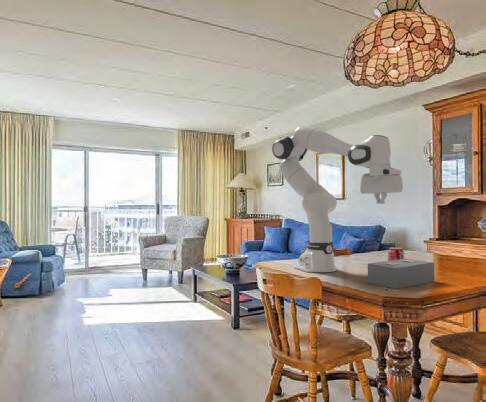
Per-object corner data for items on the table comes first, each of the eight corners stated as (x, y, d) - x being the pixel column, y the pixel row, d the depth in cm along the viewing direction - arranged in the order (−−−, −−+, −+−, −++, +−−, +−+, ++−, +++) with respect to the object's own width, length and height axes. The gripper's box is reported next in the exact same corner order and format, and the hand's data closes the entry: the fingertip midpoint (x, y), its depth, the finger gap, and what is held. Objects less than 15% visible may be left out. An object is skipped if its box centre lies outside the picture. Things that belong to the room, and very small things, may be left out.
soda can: (403, 272, 182) (402, 247, 182) (405, 275, 176) (405, 248, 176) (387, 271, 184) (387, 246, 184) (389, 274, 177) (388, 248, 178)
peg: (403, 277, 164) (402, 260, 164) (409, 276, 166) (408, 259, 166) (411, 278, 161) (411, 261, 161) (417, 277, 163) (417, 261, 163)
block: (368, 282, 160) (367, 263, 160) (405, 276, 172) (404, 258, 172) (396, 288, 148) (396, 268, 148) (434, 281, 160) (434, 262, 160)
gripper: (356, 173, 175) (357, 203, 175) (394, 169, 158) (395, 203, 158) (366, 173, 178) (366, 203, 178) (404, 170, 161) (405, 203, 161)
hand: (380, 203), depth 168 cm, fingers closed
